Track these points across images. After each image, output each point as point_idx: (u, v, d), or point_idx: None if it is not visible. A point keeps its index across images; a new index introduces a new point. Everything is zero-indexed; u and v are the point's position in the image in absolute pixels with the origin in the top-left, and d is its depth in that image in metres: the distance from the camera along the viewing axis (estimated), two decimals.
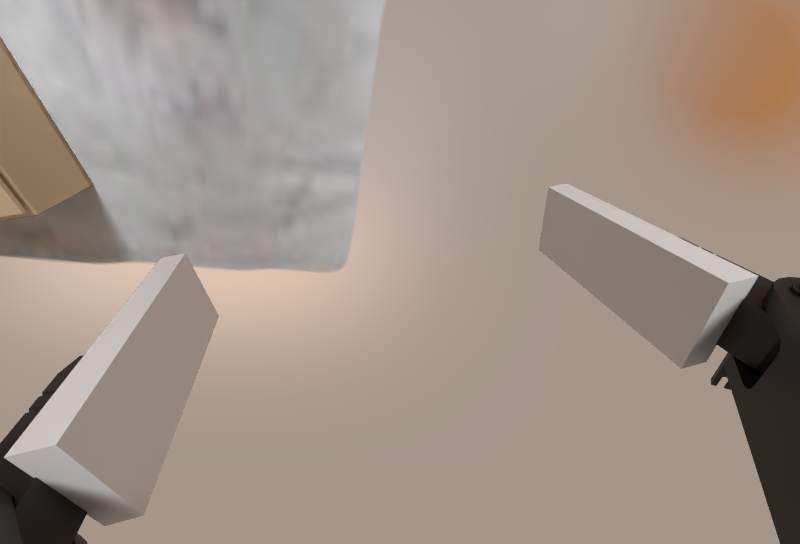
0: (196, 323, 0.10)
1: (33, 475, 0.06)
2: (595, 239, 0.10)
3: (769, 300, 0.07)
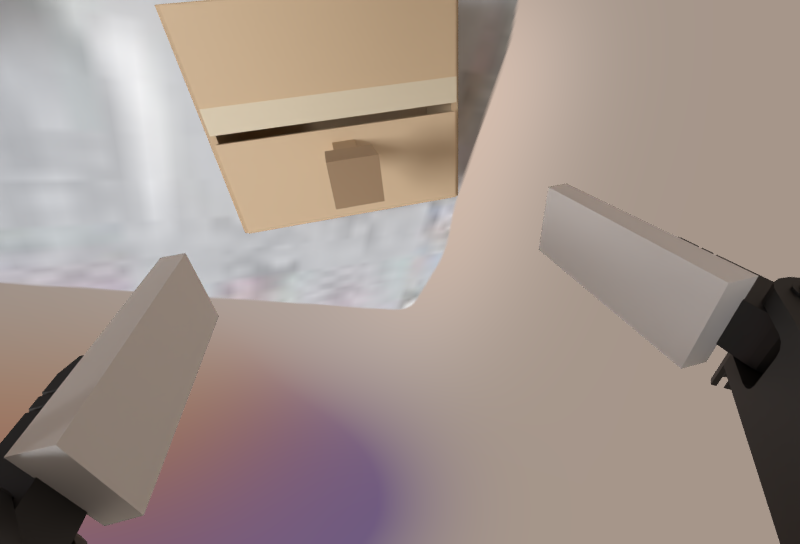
0: (196, 323, 0.10)
1: (33, 475, 0.06)
2: (595, 239, 0.10)
3: (769, 300, 0.07)
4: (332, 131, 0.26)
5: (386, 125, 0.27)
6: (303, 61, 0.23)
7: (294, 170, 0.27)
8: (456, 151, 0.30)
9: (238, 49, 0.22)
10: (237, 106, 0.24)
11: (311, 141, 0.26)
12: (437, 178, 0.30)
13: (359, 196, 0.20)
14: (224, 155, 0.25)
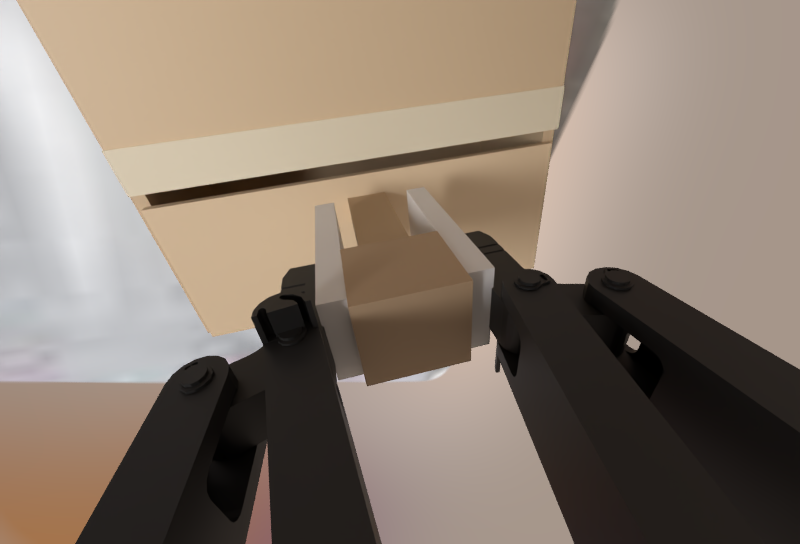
0: None
1: (322, 324, 0.08)
2: None
3: (502, 288, 0.08)
4: (348, 180, 0.15)
5: (439, 168, 0.16)
6: (297, 60, 0.12)
7: (283, 244, 0.16)
8: None
9: (168, 36, 0.11)
10: (176, 144, 0.13)
11: (312, 197, 0.15)
12: (511, 243, 0.19)
13: (418, 358, 0.09)
14: (160, 225, 0.14)
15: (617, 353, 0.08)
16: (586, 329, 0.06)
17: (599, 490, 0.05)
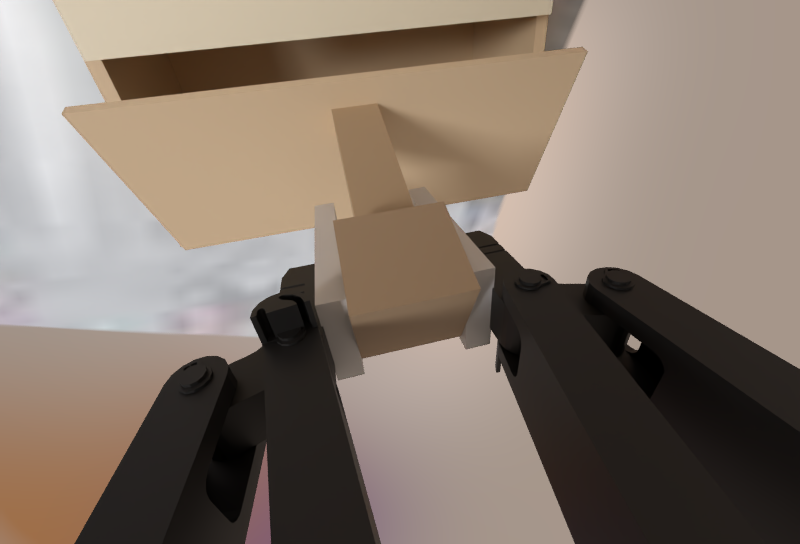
0: None
1: (321, 324, 0.08)
2: None
3: (503, 288, 0.08)
4: (333, 87, 0.12)
5: (446, 77, 0.13)
6: None
7: (255, 159, 0.14)
8: None
9: None
10: None
11: (287, 106, 0.12)
12: (510, 166, 0.17)
13: (413, 339, 0.09)
14: (93, 133, 0.11)
15: (618, 353, 0.08)
16: (587, 329, 0.06)
17: (599, 489, 0.05)
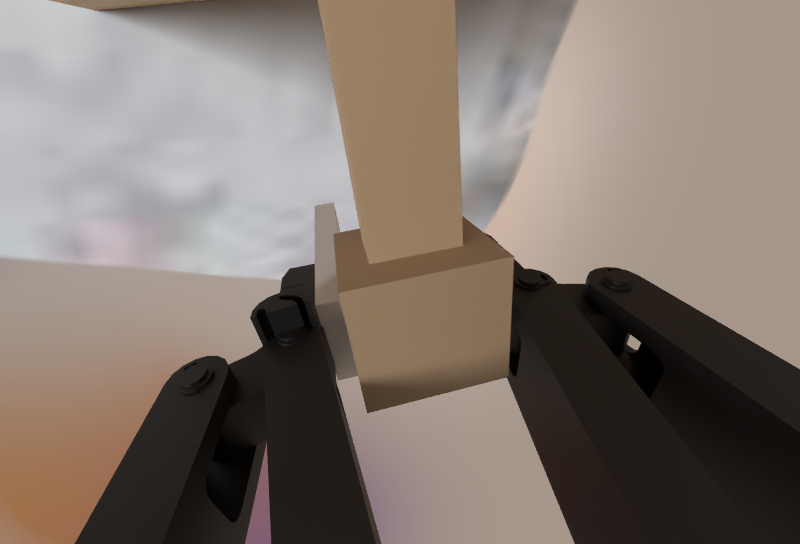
0: None
1: (321, 324, 0.08)
2: None
3: None
4: None
5: None
6: None
7: None
8: None
9: None
10: None
11: None
12: None
13: None
14: None
15: (617, 353, 0.08)
16: (586, 329, 0.06)
17: (599, 490, 0.05)
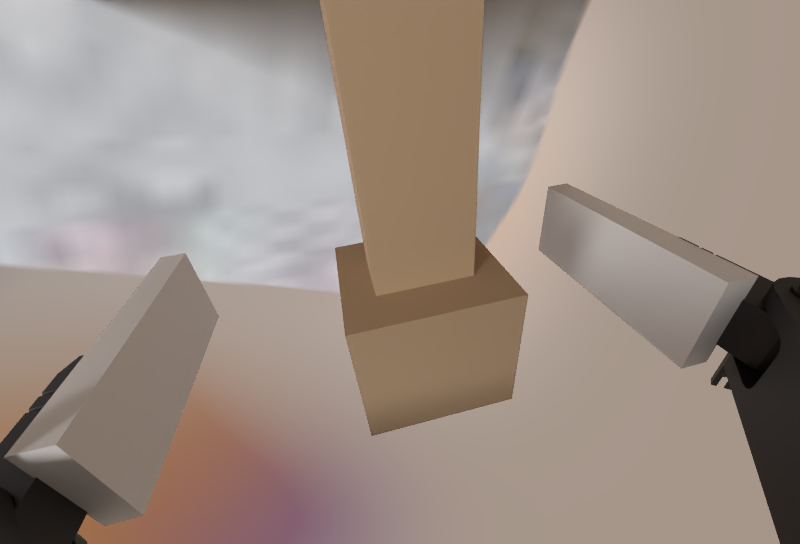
0: (196, 323, 0.10)
1: (33, 475, 0.06)
2: (595, 239, 0.10)
3: (769, 300, 0.07)
4: None
5: None
6: None
7: None
8: None
9: None
10: None
11: None
12: None
13: None
14: None
15: None
16: None
17: None
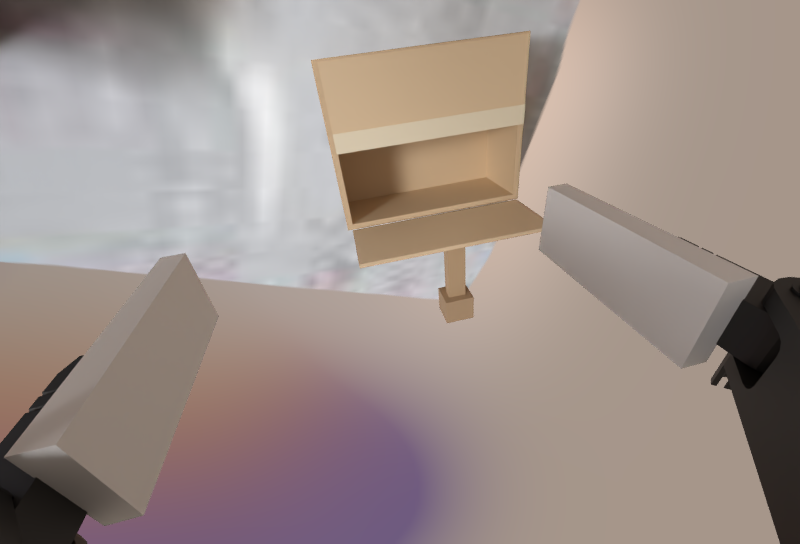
0: (196, 323, 0.10)
1: (33, 475, 0.06)
2: (595, 239, 0.10)
3: (769, 300, 0.07)
4: (452, 248, 0.31)
5: None
6: (412, 97, 0.30)
7: None
8: (519, 162, 0.36)
9: (366, 89, 0.29)
10: (360, 131, 0.31)
11: None
12: None
13: None
14: None
15: None
16: None
17: None
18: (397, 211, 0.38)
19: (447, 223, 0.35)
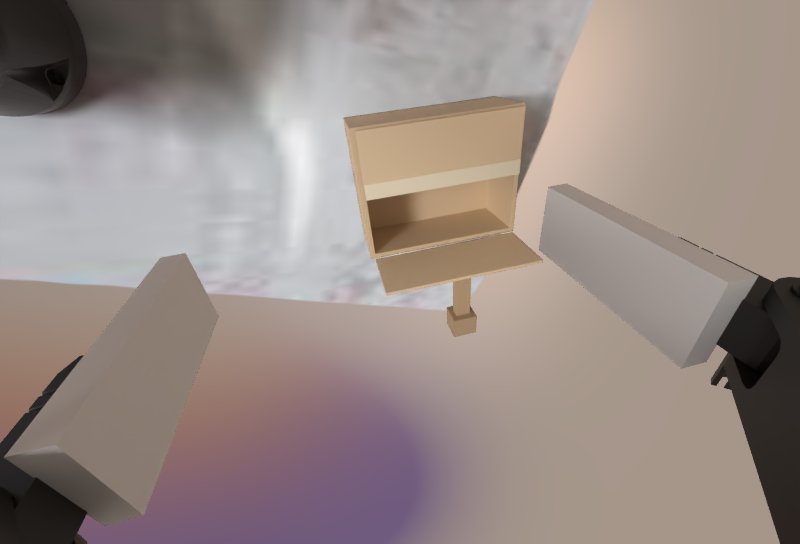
0: (196, 323, 0.10)
1: (33, 475, 0.06)
2: (595, 239, 0.10)
3: (769, 300, 0.07)
4: (460, 279, 0.38)
5: None
6: (429, 155, 0.37)
7: None
8: (514, 202, 0.43)
9: (393, 151, 0.36)
10: (386, 182, 0.37)
11: None
12: None
13: None
14: None
15: None
16: None
17: None
18: (411, 241, 0.45)
19: (455, 254, 0.42)
